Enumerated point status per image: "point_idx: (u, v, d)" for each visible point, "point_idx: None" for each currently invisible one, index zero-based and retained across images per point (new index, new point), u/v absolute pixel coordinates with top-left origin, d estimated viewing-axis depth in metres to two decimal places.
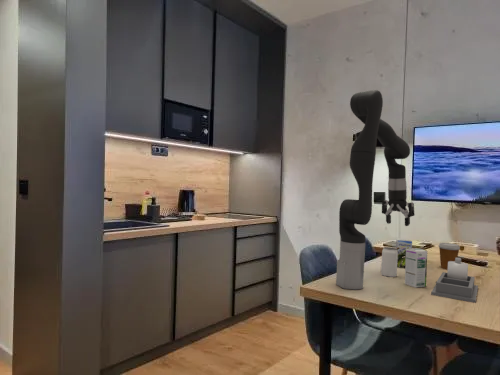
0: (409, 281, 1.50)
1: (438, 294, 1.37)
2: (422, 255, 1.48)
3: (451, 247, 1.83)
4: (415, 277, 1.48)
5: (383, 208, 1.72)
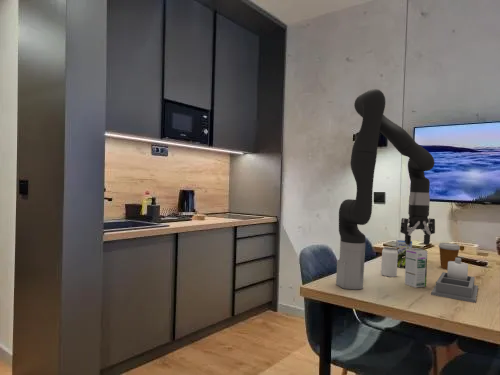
0: (409, 281, 1.50)
1: (438, 294, 1.37)
2: (422, 255, 1.48)
3: (451, 247, 1.83)
4: (415, 277, 1.48)
5: None
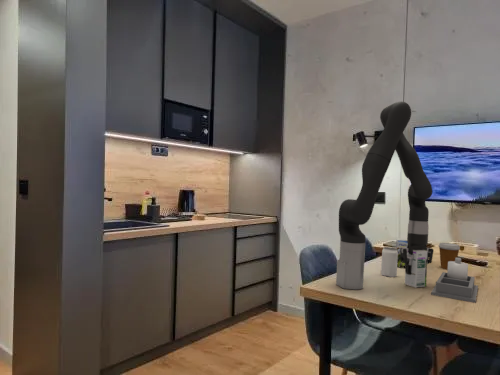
0: (409, 281, 1.50)
1: (438, 294, 1.37)
2: (422, 255, 1.48)
3: (451, 247, 1.83)
4: (415, 277, 1.48)
5: None
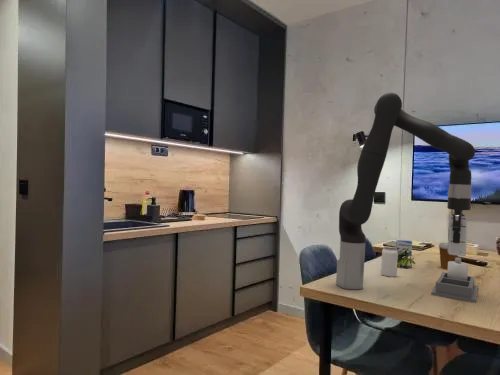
0: (455, 250, 1.38)
1: (438, 294, 1.37)
2: None
3: None
4: (465, 245, 1.37)
5: None
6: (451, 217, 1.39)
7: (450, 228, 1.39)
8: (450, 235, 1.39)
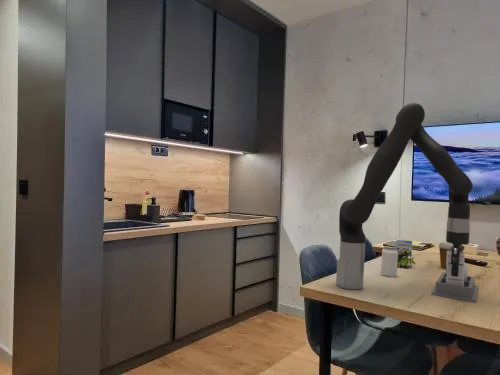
0: None
1: (438, 294, 1.37)
2: None
3: None
4: (462, 283, 1.37)
5: None
6: (448, 255, 1.39)
7: (448, 266, 1.39)
8: (448, 273, 1.39)
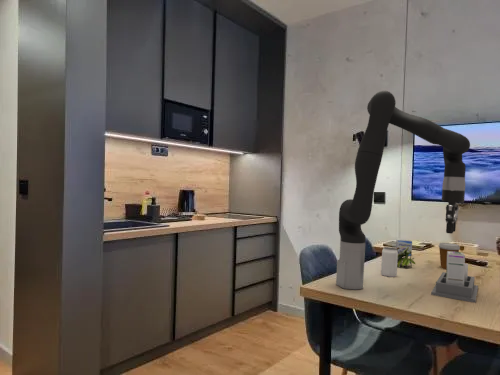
0: None
1: (438, 294, 1.37)
2: None
3: (451, 247, 1.83)
4: (463, 283, 1.37)
5: None
6: (449, 255, 1.39)
7: (448, 266, 1.39)
8: (448, 273, 1.39)
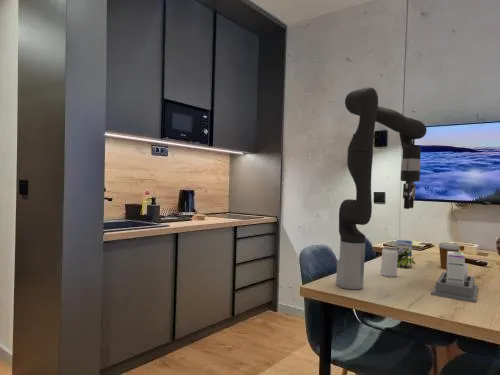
0: None
1: (438, 294, 1.37)
2: None
3: (451, 247, 1.83)
4: (463, 283, 1.37)
5: None
6: (449, 255, 1.39)
7: (448, 266, 1.39)
8: (448, 273, 1.39)
